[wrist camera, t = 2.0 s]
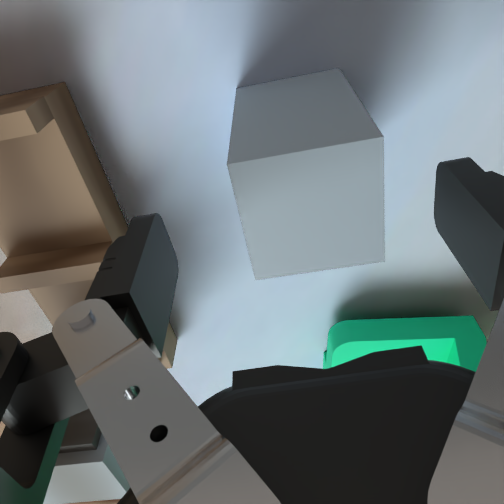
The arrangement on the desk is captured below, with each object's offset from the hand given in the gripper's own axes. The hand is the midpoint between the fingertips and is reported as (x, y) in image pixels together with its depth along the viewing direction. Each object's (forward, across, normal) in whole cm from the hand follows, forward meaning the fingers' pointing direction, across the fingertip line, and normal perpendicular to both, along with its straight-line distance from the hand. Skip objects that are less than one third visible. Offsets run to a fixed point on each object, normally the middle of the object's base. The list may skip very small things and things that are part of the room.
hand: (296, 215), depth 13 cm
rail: (+7, +10, +4) cm, 13 cm away
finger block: (+7, 0, 0) cm, 7 cm away
